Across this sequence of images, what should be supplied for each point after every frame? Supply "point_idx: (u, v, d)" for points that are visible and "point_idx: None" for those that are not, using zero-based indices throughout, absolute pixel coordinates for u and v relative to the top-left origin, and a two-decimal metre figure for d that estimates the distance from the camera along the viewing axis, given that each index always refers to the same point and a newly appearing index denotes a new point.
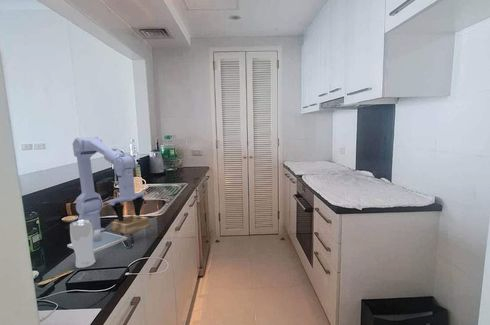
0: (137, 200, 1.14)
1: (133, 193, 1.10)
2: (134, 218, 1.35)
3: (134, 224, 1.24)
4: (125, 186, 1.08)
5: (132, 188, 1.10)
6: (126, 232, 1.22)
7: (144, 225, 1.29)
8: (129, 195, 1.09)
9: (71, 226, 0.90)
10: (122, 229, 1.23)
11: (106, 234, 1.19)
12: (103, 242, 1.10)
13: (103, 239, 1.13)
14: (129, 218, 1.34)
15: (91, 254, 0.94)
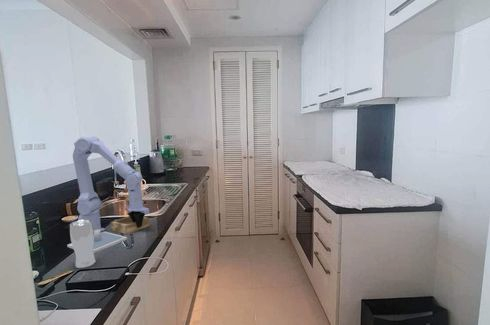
0: None
1: (133, 206, 1.23)
2: None
3: (134, 224, 1.24)
4: None
5: (131, 202, 1.22)
6: (126, 232, 1.22)
7: (144, 225, 1.29)
8: (130, 207, 1.24)
9: (71, 226, 0.90)
10: (122, 229, 1.23)
11: (106, 234, 1.19)
12: (103, 242, 1.10)
13: (103, 239, 1.13)
14: (129, 218, 1.34)
15: (91, 254, 0.94)
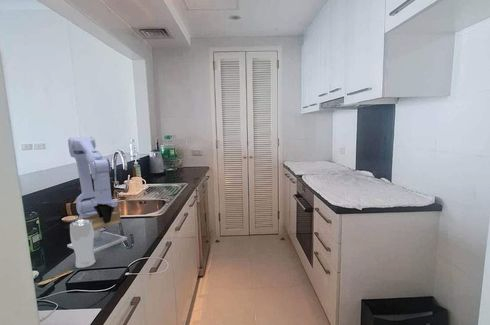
0: None
1: (98, 198, 1.06)
2: None
3: (101, 219, 1.07)
4: None
5: (97, 193, 1.06)
6: None
7: (114, 221, 1.12)
8: (95, 199, 1.07)
9: (71, 226, 0.90)
10: None
11: (106, 234, 1.19)
12: (103, 242, 1.10)
13: (103, 239, 1.13)
14: (98, 215, 1.18)
15: (91, 254, 0.94)
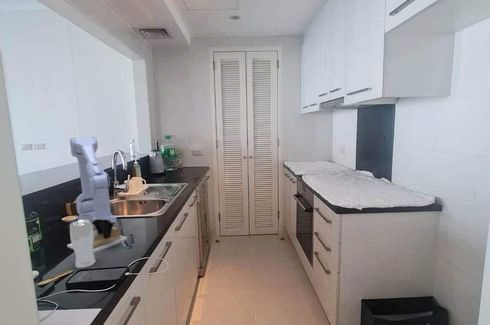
0: None
1: (97, 214, 1.05)
2: None
3: (100, 236, 1.07)
4: None
5: (96, 209, 1.05)
6: None
7: (113, 237, 1.12)
8: (94, 215, 1.06)
9: (71, 226, 0.90)
10: None
11: None
12: None
13: None
14: None
15: (91, 254, 0.94)
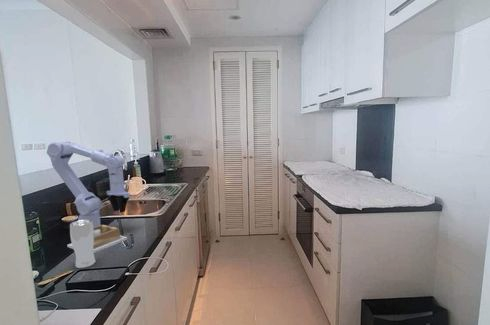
0: None
1: (113, 190, 1.21)
2: (103, 228, 1.18)
3: (100, 236, 1.07)
4: None
5: (112, 185, 1.21)
6: None
7: (113, 237, 1.12)
8: (110, 191, 1.22)
9: (71, 226, 0.90)
10: None
11: None
12: None
13: None
14: (97, 228, 1.17)
15: (91, 254, 0.94)
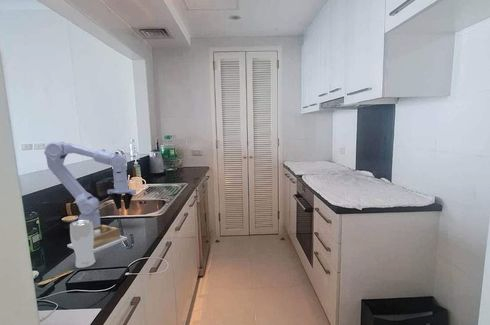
0: None
1: (119, 188, 1.25)
2: (103, 228, 1.18)
3: (100, 236, 1.07)
4: None
5: (117, 184, 1.25)
6: None
7: (113, 237, 1.12)
8: (115, 189, 1.26)
9: (71, 226, 0.90)
10: None
11: None
12: None
13: None
14: (97, 228, 1.17)
15: (91, 254, 0.94)
